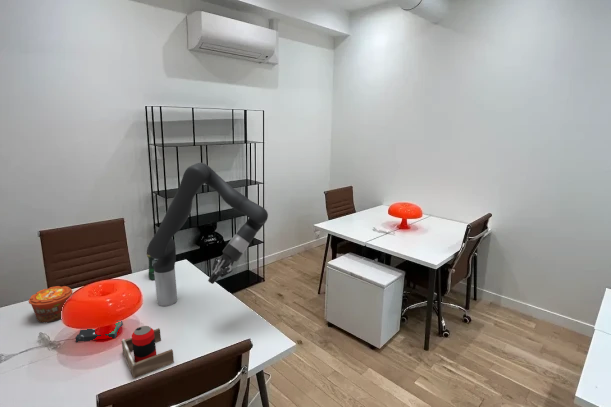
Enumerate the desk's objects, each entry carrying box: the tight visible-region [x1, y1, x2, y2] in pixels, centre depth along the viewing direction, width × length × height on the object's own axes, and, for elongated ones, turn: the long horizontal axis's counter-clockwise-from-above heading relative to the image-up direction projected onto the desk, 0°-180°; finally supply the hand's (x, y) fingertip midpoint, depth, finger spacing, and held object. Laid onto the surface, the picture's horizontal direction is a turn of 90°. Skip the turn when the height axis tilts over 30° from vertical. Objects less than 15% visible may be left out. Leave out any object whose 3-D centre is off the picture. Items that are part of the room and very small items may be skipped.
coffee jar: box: [146, 246, 158, 281], centre depth 194 cm, size 10×8×19 cm
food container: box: [28, 285, 73, 323], centre depth 157 cm, size 16×16×11 cm
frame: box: [121, 327, 175, 379], centre depth 131 cm, size 17×14×6 cm
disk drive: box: [75, 320, 124, 343], centre depth 145 cm, size 10×3×15 cm
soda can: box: [131, 325, 157, 363], centre depth 129 cm, size 8×8×12 cm
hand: (210, 282), depth 142 cm, fingers closed
